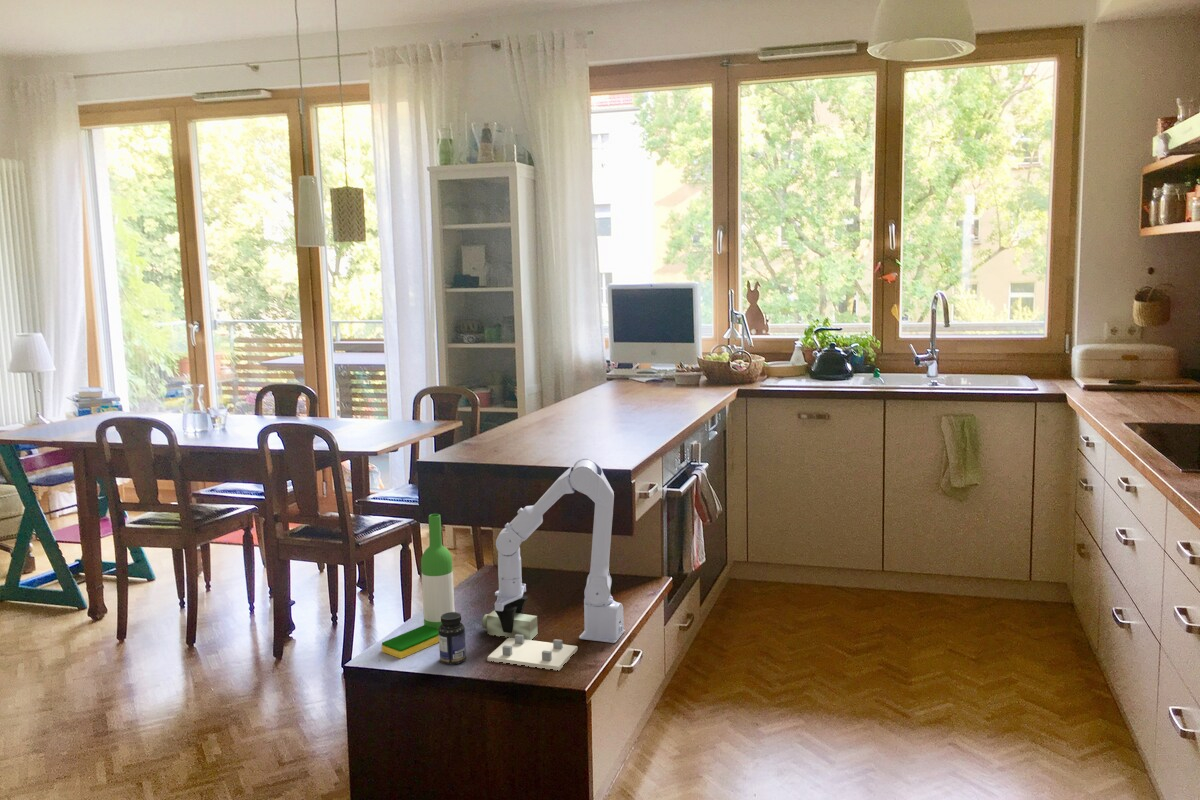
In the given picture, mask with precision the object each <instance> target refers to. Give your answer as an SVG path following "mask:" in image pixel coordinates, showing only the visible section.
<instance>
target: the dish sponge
mask: <svg viewBox="0 0 1200 800" xmlns="http://www.w3.org/2000/svg"><path fill="white" fill-rule="evenodd" d="M436 644H439V631H438V629H435V628H432V627H429V626H426V625H424V624H423V625H421V626H419V627H416V628H414V629H411V630H409V631H406V632H404V633H402V634H400V635H397V636H394V637H392V638H390V639H387V640H385V641H382V642H381V652H382V653H385V654H387V655H390V656H393V657H396V658H398V659H404V658H406V657H407V656H410V655H413V654H415V653H417V652H420V651H422V650H424V649H426V648H429V647H431V646H433V645H436Z"/></svg>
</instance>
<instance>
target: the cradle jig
mask: <svg viewBox="0 0 1200 800" xmlns="http://www.w3.org/2000/svg"><path fill="white" fill-rule="evenodd" d="M563 641H564V640H563V639H559V638H558V639H556V638H554V639H553V640H552V642H548V641H539V640H534V639H533V640H526V639H524V635H519V634H516V635H515V638H510V637H509V638H506V639H505V640H504V641H503V642H502V643H501V644H500V645H499V646H498V647H496V649H494V650H493V651H492V652H491V653H490V654H489V655H488V656H487V658H486V659H487V662H491V661H492V662H493V661H494V662H493V663H499V662H503V663H502V664H506V663H510V664H509V665H513V664H517V665H516V666H521V665H525V666H524V667H528V666H529V668H535V667H537V668H538V669H542V668H545V669H544V670H550V669H553V670H552V671H557V670H558V672H559V671H561V669H562V668H563V667H564V666H565V665H566V664H567V662H569V660H570V659H571V658H572V657H573V656H572V655H573V654H574V655H575V653H577V651H578V646H577V645H571V644H565V643H563ZM571 656H572V657H571ZM570 657H571V658H570ZM492 662H491V663H492ZM565 663H566V664H565ZM564 664H565V665H564ZM563 665H564V666H563Z"/></svg>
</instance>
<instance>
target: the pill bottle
mask: <svg viewBox="0 0 1200 800" xmlns="http://www.w3.org/2000/svg"><path fill="white" fill-rule="evenodd" d="M461 621H462V614H461V613H459V612H456V611H455V612H448V613H445V614H443V615H441V622H442V625H440V627H439V629H438V631H439V642H438V645H439V646H438V648H439V661H440V662H441V663H442V664H443V665H450V666H451V665H458V664H462V663H463V662H465V661H466V659H467V649H466V631H465V630H466V629H465V628H466V627H465V625H464V624H463V623H462V622H461Z"/></svg>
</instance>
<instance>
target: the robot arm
mask: <svg viewBox="0 0 1200 800" xmlns="http://www.w3.org/2000/svg"><path fill="white" fill-rule="evenodd" d="M575 491H577V492H578V493H580V494H584V495H586V496H587V498H589V499H590V500H592V502H593V503H594V515H593V528H592V540H591V541H592V542H591V554H590V555H591V556H590V568H589V569H590V570H589V574H588V575H587V578H586V585H585V588H584V595H583V596H584V598H583V608H584V609H583V610H584V612H583V613H584V614H583V618H584V619H583V621H584V623H583V624H584V631H583V632H582V633H580V635H579V636H578V639H579V640H587V641H593V642H594V641H595V642H603V643H610V644H614V643H616V642H618V640H619V639H620V638H621V636H622V635H623V634H624V633H625V629H624V627H625V626H624V622H625V621H624V618H625V617H624V613H625V612H624V606H623V603H621V602H618V601H615V600H614V597H613V596H612V594H611V587H612V584H613V583H612V582H613V581H612V580H613V579H612V577H611V575H610V570H609V569H610V556H611V555H610V553H611V543H612V531H613V530H612V527H613V517H614V502H615V501H614V500H615V494H614V493H615V491H614V490H613V488H612V487H611V484H610V482H609V481H608V479H607V477H606V475H605V474H604V470H603V468H602V466H600V465H599V464H597V462H595V461H594V460H593V459H591V458H581V459H579V460H577V461H576V462H575V463H574V465H573V467H572V466H570V467H568V469H566V470H565V471H564V472H563V473H562V474H561V475H560V476H559V477H558V478H557V479H556V480H555V481H554V482H553V483H552V485H550V487H548V489H547V490H546V491H545V493H543V495H542V496H541V497H540V498H539V499H538V500H537V502H535V504H533V505H526V506H525V507H523V508H522V507H520V508H519V509H518V510H517V515H516V516H515V517H514V518H513V519H512V520H511V521H510V522H507V523H506V524H504V528H502V529H501V531H500V532H499V534H498V535H497V538H496V540H495V547H496V551H497V555H498V557H497V571H498V572H497V575H498V577H497V578H498V590H496V591H495V592H494V596H495V597H496V596H497V597H496V598H497V599H496V601H495V602H494V605H493V611H494V610H495V612H496V613H497V615H498V617H499V619H500V622H501V625H502V629H503V632H507V633H511V632H512V630H513V620H514V615H515V613H520V614H523V612H524V608H525V605H526V603H527V600H528V595H524V593H526V592H527V584H526V583H523V579H522V577H523V576H522V557H521V547H520V546H521V545H522V542H525V541H527V540H528V538H529V537H530V536H531V535H532V534H533V533H534V532H535V531H536V530H537V529H538V528H539V527H540V526H541V525H542V524H543V522H544V519H543V518H544V517H543V516H544V514H545V513H546V512H547V511H548V510H549V509H550V508H552V506H553V505H555V503H556V502H557V501H558V500H559V499H560V498H562V497H563V496H564V495H566V494H567V495H568V494H570V495H571V494H574V493H575Z"/></svg>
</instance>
